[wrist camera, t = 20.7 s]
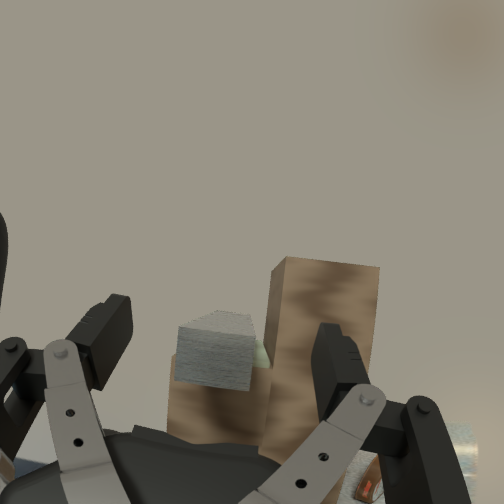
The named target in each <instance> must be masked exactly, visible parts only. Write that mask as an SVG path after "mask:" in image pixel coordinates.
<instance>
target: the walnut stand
mask: <svg viewBox="0 0 504 504" xmlns="http://www.w3.org/2000/svg"><path fill="white" fill-rule="evenodd" d="M379 270H380V268H379V267H372V266H364V265H356V264H347V263H338V262H330V261H322V260H313V259H305V258H296V257H287V256H286V257H285V258H284V259H283V260H282V261H281V262H280V263H279V264H278V265H277V266H276V268H275V269H274V270H273V271H272V272H271V281H270V291H269V299H268V308H267V316H266V325H265V334H264V341H263V343H262V341H260V340H255V348H254V356H253V364H252V372H251V380H250V388H249V391H241V390H233V389H225V388H217V387H210V386H203V385H197V384H191V383H185V382H179V381H174V373H175V361H176V354H174V355H173V356H172V361H171V372H170V385H169V399H168V416H167V433H168V434H170V435H173V436H175V437H177V438H179V439H182V440H184V441H187V442H189V443H192V444H212V443H236V444H245V445H255V446H259V448H258V454H260V455H263V456H265V457H268V458H270V459H272V460H274V461H276V462H278V463H279V464H281V465H283V464H284V462H285V461H286V460H287V459H288V458H289V457H290V456H291V455H292V454H293V453H294V452H295V451H296V450H297V449H298V448H299V447H300V446H301V444H302V443H303V442H304V441H305V440H306V439H307V438H308V437H309V436H310V434H311V433H312V432H313V431H314V430H315V429H316V428H317V426H318V425H319V418H318V410H317V403H316V396H315V389H314V383H313V376H312V370H311V353H312V349H313V346H314V342H315V339H316V335H317V332H318V328H319V325H320V323H321V322H325V323H337V324H339V325H340V328H341V331H342V334H343V336H350V337H351V339H352V340H353V341H354V342H355V343H356V344H357V346H358V349H359V352H360V353H359V354H360V355H361V358H362V361H363V363H364V366H365V369H366V372H367V375H368V369H369V363H370V355H371V349H372V342H373V334H374V325H375V316H376V307H377V296H378V284H379ZM346 470H347V468H346ZM346 470H345V471H344V473H343V474H342V475H341V477H340V478H339V480H338V481H337V482H336V484H335V485H334V486H333V488H332V489H331V490H330V492H329V493H328V494H327V495H326V497H325V498H324V499H323V500H322V502H321V503H320V504H336V503H337V500H338V497H339V493H340V490H341V487H342V484H343V480H344V477H345V473H346Z"/></svg>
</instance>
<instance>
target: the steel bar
mask: <svg viewBox="0 0 504 504" xmlns="http://www.w3.org/2000/svg"><path fill="white" fill-rule="evenodd" d="M255 339H256V335H255V332H254V328H253V324H252V320H251V316H250V315H249V314H242V313H233V312H225V311H218V310H217V311H215V312H212V313H210V314H208V315H205V316H203V317H200V318H198V319H196V320H193V321H191V322H188V323H186V324H183V325H181V326H179V330H178V341H177V350H176V361H175V373H174V381H179V382H185V383H191V384H197V385H203V386H210V387H217V388H225V389H233V390H241V391H249V388H250V380H251V372H252V364H253V356H254V348H255Z"/></svg>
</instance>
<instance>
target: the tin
mask: <svg viewBox="0 0 504 504" xmlns="http://www.w3.org/2000/svg"><path fill="white" fill-rule="evenodd" d="M383 492H384V489H383V483H382V476H381V470H380V465H379V459H378V454H377V456H376V457H375V458H374V459H373V461H372V462H371V464H370V465H369V467H368V468H367V470H366V472H365V473H364V475H363V477H362V479H361V481H360V483H359V485H358V488H357V490H356V494H355V498H356V499H359V500H362V501H364V502H367V503H373V502H375V501H376V500H377V499H378V498H379V497H380V496H381V494H382V493H383Z"/></svg>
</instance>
